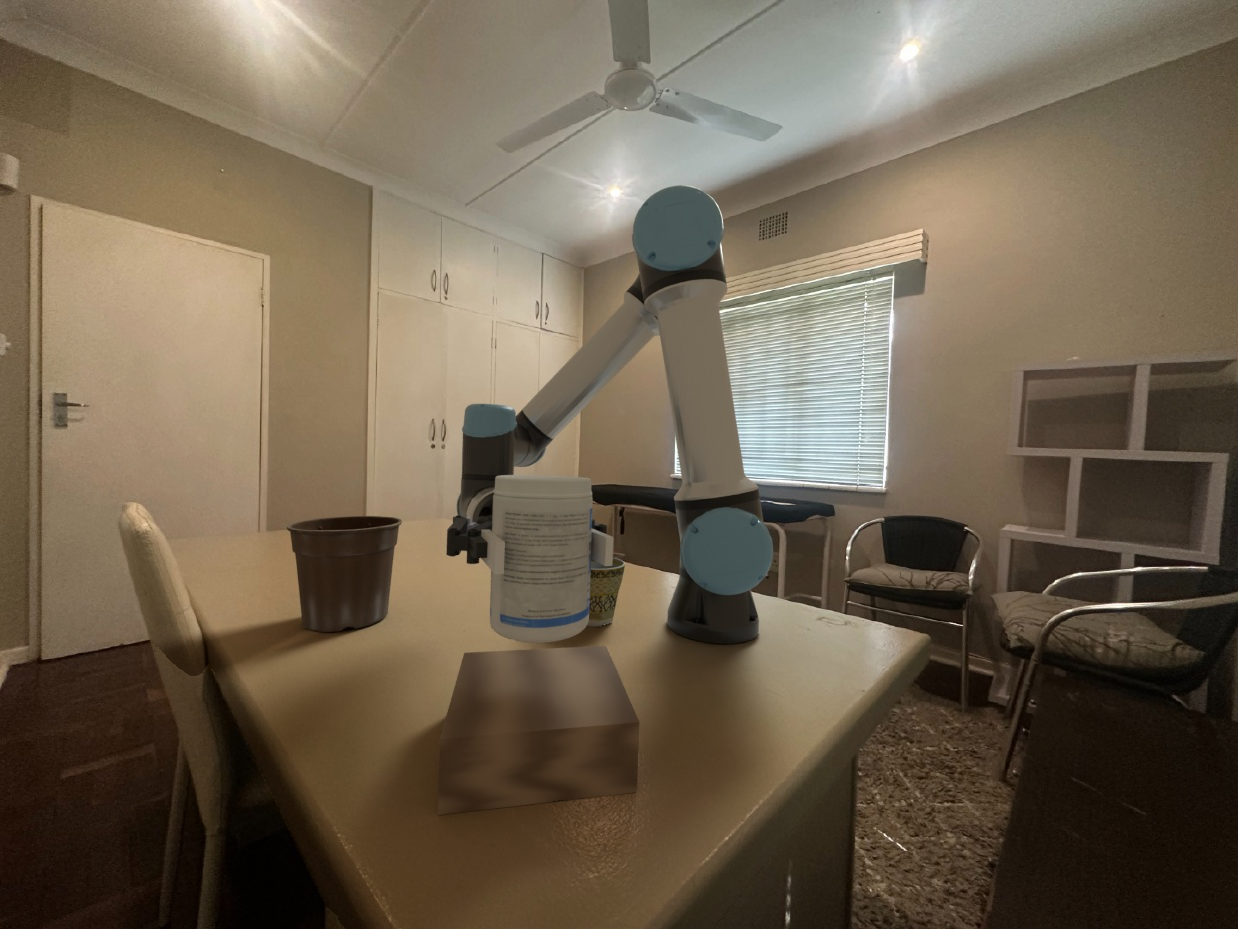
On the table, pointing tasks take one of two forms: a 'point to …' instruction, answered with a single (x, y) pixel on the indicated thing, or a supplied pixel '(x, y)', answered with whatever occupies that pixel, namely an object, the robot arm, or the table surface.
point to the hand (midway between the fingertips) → (557, 554)
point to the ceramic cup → (604, 591)
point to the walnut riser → (536, 730)
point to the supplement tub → (542, 557)
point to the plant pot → (344, 570)
